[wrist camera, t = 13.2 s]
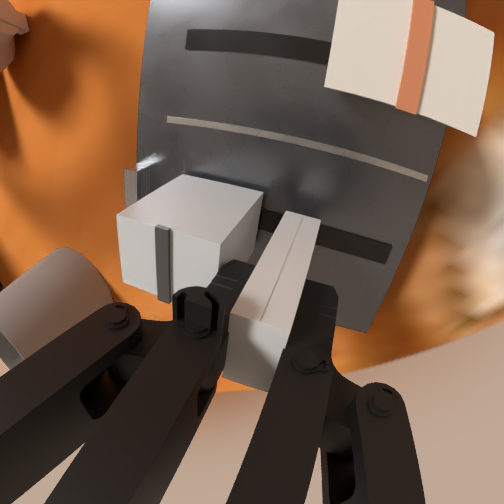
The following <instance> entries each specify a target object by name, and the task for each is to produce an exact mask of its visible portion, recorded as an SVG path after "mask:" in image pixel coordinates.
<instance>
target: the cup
mask: <svg viewBox="0 0 504 504" xmlns="http://www.w3.org/2000/svg"><path fill="white" fill-rule="evenodd" d="M110 303H114V301H113V298H112V295H111V292H110V288H109V286H108V285H107V283H106V282H105V280H104V279H103V277H102V276H101V274H100V272H99V271H98V269H97V268H96V267H95V266H94V265H93V264H92V263H91V262H90V261H89V260H88V259H86V258H85V257H84V256H83V255H82V254H81V253H79V252H77V251H75V250H73V249H70V248H68V247H64V248H57V249H56V250H54V251H53V252H51V253H50V254H49V255H47V256H46V257H45V258H43V259H42V260H41V261H39V262H38V263H37V264H35V265H34V266H33V267H31V268H30V269H29V270H27V271H26V272H25V273H23V274H22V275H21V276H20V277H18V278H17V279H16V280H15V281H13V282H12V283H11V284H10V285H8V286H7V287H6V288H5V289H4V290H2V291H1V292H0V358H1V359H2V361H3V362H4V363H5V364H6V365H7V367H9V369H10V370H11V369H12V368H14V367H15V366H16V365H18V364H19V363H21V362H22V361H23V360H25V359H26V358H28V357H29V356H31V355H32V354H33V353H35V352H36V351H38V350H39V349H41V348H42V347H43V346H45V345H46V344H48V343H49V342H51V341H52V340H54V339H55V338H56V337H58V336H59V335H61V334H62V333H64V332H65V331H67V330H68V329H70V328H71V327H73V326H74V325H76V324H77V323H79V322H80V321H82V320H83V319H85V318H86V317H88V316H89V315H91V314H92V313H94V312H95V311H97V310H98V309H100V308H101V307H103V306H105V305H107V304H110Z"/></svg>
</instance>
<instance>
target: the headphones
mask: <svg viewBox="0 0 504 504" xmlns="http://www.w3.org/2000/svg"><path fill="white" fill-rule="evenodd" d="M28 31H29V27H28V22H27V18H26V15H25V14H23V13H20V12H18V11H16V10H15V8H14V7H13V6H12V5H11V3H10V2H9V1H8V0H0V73H1V72H2V71H3V70H4V69H5V68H6V67H8V66H9V64H10V63H11V62H12V61H13V59H14V55H15V51H16V49H15V40H14V35H15V34H16V33H17V34H20V35H22V34H24V33H26V32H28Z"/></svg>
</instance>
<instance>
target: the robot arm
mask: <svg viewBox="0 0 504 504" xmlns="http://www.w3.org/2000/svg"><path fill="white" fill-rule="evenodd" d="M320 222H321V220H319V219H316V218H312V217H308V216H305V215H301V214H297V213H293V212H290V211H286V212H285V214H284V215H283V217H282V219H281V221H280V223H279V225H278V226H277V228H276V230H275V232H274V234H273V236H272V237H271V239H270V241H269V243H268V245H267V247H266V248H265V250H264V252H263V254H262V256H261V258H260V259H259V261H258V263H257V265H252V264H249V263H246V262H242V261H239V260H235V259H233V260H231V261H229V262H228V263H226V264H224V265H222V267H221V268H220V270H219V271H218V272H217V274H216V276H215V277H214V278H213V279H212V281H211V283H210V284H209V285H208V286H207V288H206V287H201V286H191V287H186V288H183V289H180V290H178V291H177V292H176V293H174V294H173V295H172V306H173V320H172V321H154V320H146V319H141V316H140V312H139V311H138V310H137V309H136V308H135V307H134V306H132V305H129V304H127V303H120V302H117V303H110V304H107V305H105V306H103V307H101V308H100V309H98V310H97V311H95V312H94V313H92V314H91V315H89V316H88V317H86V318H85V319H83V320H82V321H80V322H79V323H77V324H76V325H74V326H73V327H71V328H70V329H68V330H67V331H65V332H64V333H62V334H61V335H59V336H58V337H56V338H55V339H54V340H52V341H51V342H49V343H48V344H46V345H45V346H43V347H42V348H41V349H39V350H38V351H36V352H35V353H33V354H32V355H31V356H29V357H28V358H26V359H25V360H23V361H22V362H21V363H19V364H18V365H16V366H15V367H14V368H12V369H11V370H9V371H8V372H7V373H5V374H4V375H2V376H1V377H0V504H11V503H13V502H14V501H15V500H16V499H18V498H19V497H20V496H21V495H23V494H24V493H25V492H26V491H27V490H29V489H30V488H31V487H32V486H33V485H35V484H36V483H37V482H38V481H40V480H41V479H42V478H43V477H44V476H46V475H47V474H48V473H49V472H50V471H52V470H53V469H54V468H55V467H56V466H58V465H59V464H60V463H61V462H62V461H64V460H65V459H66V458H67V457H68V456H69V455H71V454H72V453H73V452H74V451H75V450H76V449H78V448H79V447H80V446H81V445H82V444H83V443H85V444H84V445H83V447H82V448H81V450H80V451H79V453H78V454H77V455H76V457H75V458H74V460H73V461H72V463H71V464H70V466H69V467H68V469H67V470H66V472H65V473H64V475H63V476H62V478H61V479H60V481H59V482H58V484H57V485H56V487H55V488H54V490H53V491H52V493H51V494H50V496H49V497H48V499H47V500H46V502H45V503H44V504H159V503H160V502H161V500H162V498H163V496H164V494H165V492H166V490H167V488H168V486H169V484H170V482H171V480H172V478H173V476H174V474H175V473H176V471H177V468H178V467H179V465H180V463H181V461H182V459H183V457H184V455H185V453H186V451H187V449H188V447H189V445H190V443H191V441H192V439H193V437H194V435H195V433H196V431H197V429H198V427H199V425H200V423H201V420H202V419H203V417H204V415H205V413H206V410H207V409H208V406H209V404H210V402H211V400H212V398H213V396H214V394H215V392H216V387H217V381H218V379H219V377H220V375H221V373H222V371H223V374H222V377H223V378H226V379H229V380H232V381H235V382H237V383H240V384H244V385H247V386H250V387H253V388H256V389H259V390H262V391H266V392H268V395H267V398H266V401H265V403H264V406H263V409H262V412H261V415H260V417H259V420H258V423H257V425H256V428H255V431H254V434H253V437H252V439H251V442H250V444H249V447H248V450H247V452H246V455H245V458H244V460H243V463H242V465H241V468H240V470H239V473H238V475H237V478H236V480H235V483H234V485H233V488H232V490H231V492H230V495H229V497H228V500H227V502H226V504H304V503H305V499H306V496H307V492H308V488H309V484H310V481H311V477H312V472H313V468H314V464H315V460H316V456H317V451H318V447H319V448H320V449H321V470H322V494H323V504H425V497H424V491H423V485H422V480H421V474H420V469H419V464H418V459H417V454H416V449H415V445H414V440H413V436H412V431H411V427H410V423H409V419H408V415H407V411H406V407H405V403H404V401H403V399H402V397H401V395H400V394H399V393H398V392H397V391H396V390H395V389H394V388H392V387H391V386H389V385H387V384H383V383H378V382H375V383H369V384H367V385H365V386H364V387H360V386H358V385H356V384H354V383H353V382H351V381H349V380H348V379H346V378H345V377H343V376H342V375H341V374H340V373H339V372H338V371H337V370H336V368H335V366H334V365H333V362H332V359H331V351H332V344H333V338H334V330H335V323H336V316H337V308H338V299H339V297H338V295H337V293H336V290H335V288H334V287H333V286H330V285H326V284H323V283H319V282H316V281H312V280H309V279H306V276H307V272H308V268H309V265H310V261H311V257H312V253H313V250H314V246H315V242H316V238H317V234H318V230H319V226H320ZM2 290H3V289H2V287H1V285H0V292H1V291H2Z"/></svg>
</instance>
